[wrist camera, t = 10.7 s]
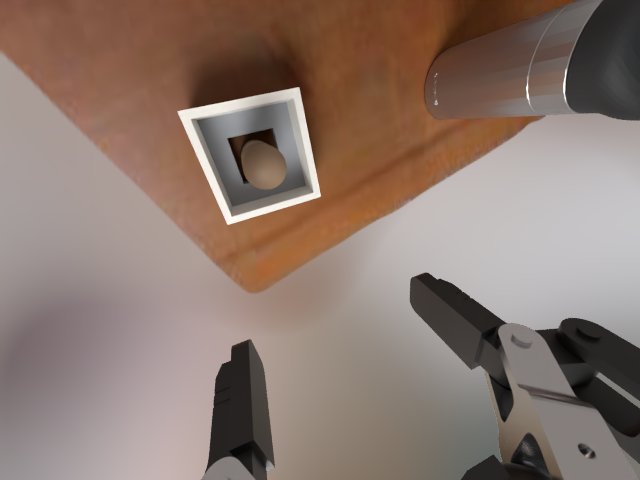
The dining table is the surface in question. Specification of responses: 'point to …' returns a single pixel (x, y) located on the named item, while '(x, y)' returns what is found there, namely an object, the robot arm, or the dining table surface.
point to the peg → (263, 164)
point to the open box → (243, 118)
